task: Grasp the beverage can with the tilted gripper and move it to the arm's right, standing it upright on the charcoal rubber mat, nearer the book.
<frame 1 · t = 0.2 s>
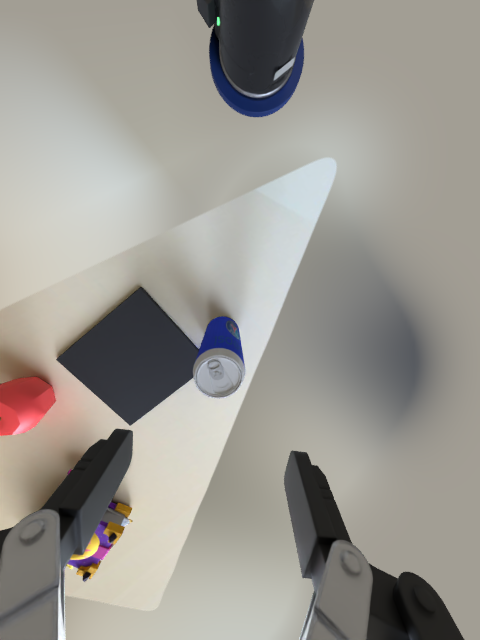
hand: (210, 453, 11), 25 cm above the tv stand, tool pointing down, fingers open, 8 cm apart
mat: (136, 360, 36), on the tv stand
book: (91, 512, 43), on the tv stand
apple: (39, 391, 37), on the tv stand
beverage can: (222, 330, 36), on the tv stand
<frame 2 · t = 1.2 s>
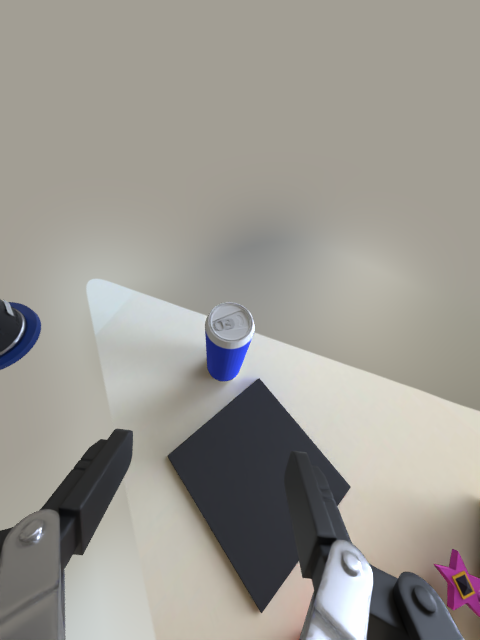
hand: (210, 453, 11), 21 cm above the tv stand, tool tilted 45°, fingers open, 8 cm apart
mat: (259, 471, 29), on the tv stand
beverage can: (223, 366, 35), on the tv stand
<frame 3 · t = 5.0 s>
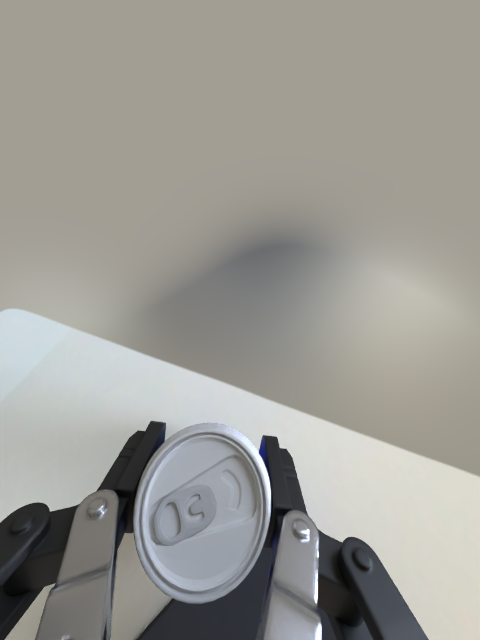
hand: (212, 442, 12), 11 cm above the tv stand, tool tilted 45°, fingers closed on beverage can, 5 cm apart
beverage can: (208, 464, 21), on the tv stand, touching gripper
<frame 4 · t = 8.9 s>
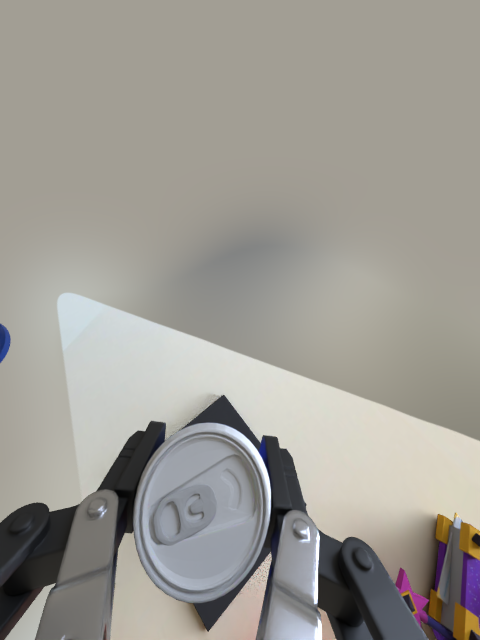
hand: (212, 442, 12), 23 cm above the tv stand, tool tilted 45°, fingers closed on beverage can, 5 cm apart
mat: (217, 489, 30), on the tv stand
book: (471, 596, 28), on the tv stand
beverage can: (209, 464, 21), point 12 cm above the tv stand, touching gripper
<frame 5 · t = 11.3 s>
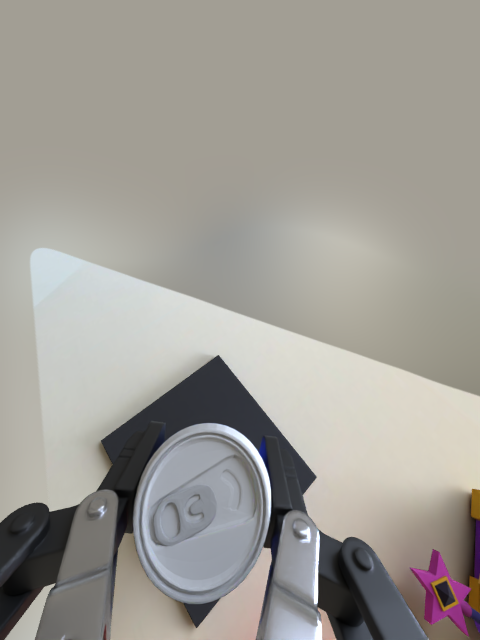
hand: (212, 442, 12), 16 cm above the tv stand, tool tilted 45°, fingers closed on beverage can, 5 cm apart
mat: (210, 458, 25), on the tv stand
beverage can: (209, 464, 21), point 5 cm above the tv stand, touching gripper
when the fingers open (12 cm above the tv stand, at t = 13.0 s): beverage can stays where it is, resting on mat.
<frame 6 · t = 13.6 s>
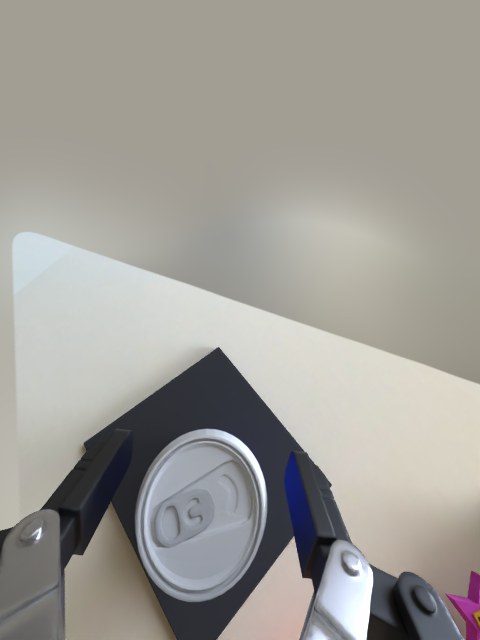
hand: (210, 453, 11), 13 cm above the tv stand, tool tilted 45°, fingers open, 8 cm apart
mat: (209, 463, 22), on the tv stand
beverage can: (208, 466, 21), resting on mat
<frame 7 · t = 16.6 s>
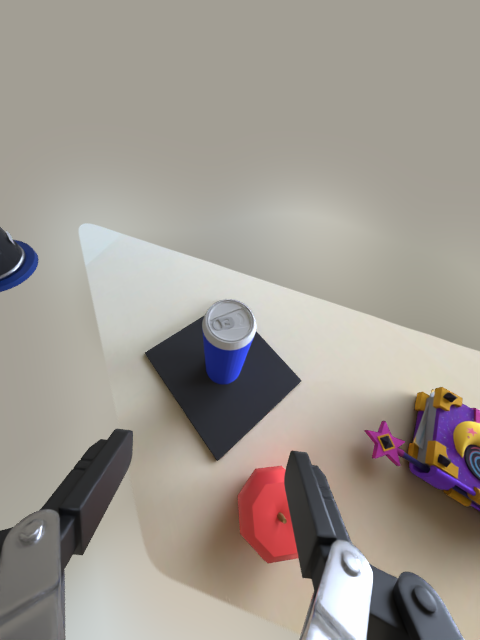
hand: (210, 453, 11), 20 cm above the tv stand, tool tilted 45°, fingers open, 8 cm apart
mat: (223, 367, 34), on the tv stand
book: (445, 452, 32), on the tv stand
apple: (265, 500, 27), on the tv stand
beverage can: (223, 368, 33), resting on mat
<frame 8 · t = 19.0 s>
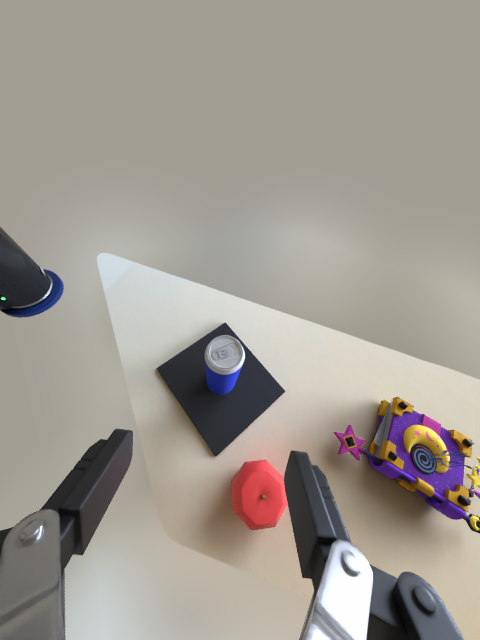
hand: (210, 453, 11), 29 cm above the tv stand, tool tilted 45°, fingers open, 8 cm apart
mat: (221, 380, 41), on the tv stand
book: (400, 449, 39), on the tv stand
apple: (253, 487, 34), on the tv stand
beverage can: (220, 381, 41), resting on mat
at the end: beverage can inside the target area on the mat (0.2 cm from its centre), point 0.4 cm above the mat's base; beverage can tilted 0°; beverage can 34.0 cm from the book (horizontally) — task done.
